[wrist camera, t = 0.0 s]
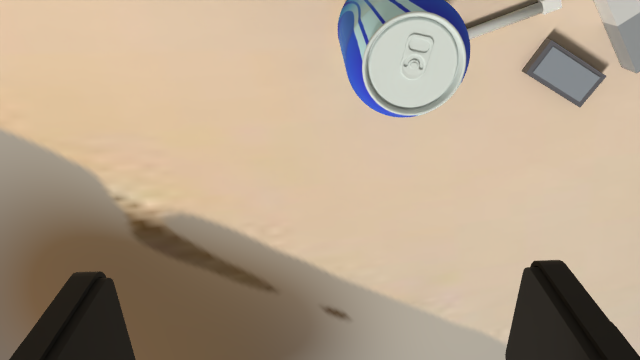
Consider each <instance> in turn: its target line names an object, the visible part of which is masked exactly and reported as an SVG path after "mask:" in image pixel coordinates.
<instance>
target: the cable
mask: <svg viewBox="0 0 640 360" xmlns="http://www.w3.org/2000/svg"><path fill="white" fill-rule="evenodd" d="M560 8H562V3H561V0H538V3H535V4H532V5H530V6H527V7H524V8H522V9H519V10H516V11H514V12H511V13H508V14H506V15H503V16H500V17H498V18H495V19H492V20H490V21H487V22H484V23H482V24H479V25H476V26H474V27H471V28H468V29H467V31H468V35H469V40H470V39H473V38H475V37H478V36H481V35H483V34H486V33H489V32H492V31H494V30H497V29H500V28H502V27H505V26H508V25H510V24H513V23H516V22H519V21H521V20H524V19H527V18H529V17H532V16H535V15H537V14H540V13H541V14H547V13H550V12H552V11H555V10H558V9H560Z"/></svg>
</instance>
